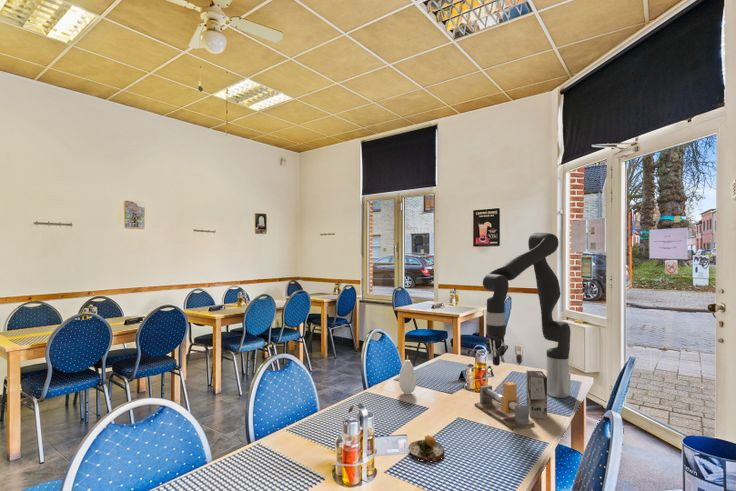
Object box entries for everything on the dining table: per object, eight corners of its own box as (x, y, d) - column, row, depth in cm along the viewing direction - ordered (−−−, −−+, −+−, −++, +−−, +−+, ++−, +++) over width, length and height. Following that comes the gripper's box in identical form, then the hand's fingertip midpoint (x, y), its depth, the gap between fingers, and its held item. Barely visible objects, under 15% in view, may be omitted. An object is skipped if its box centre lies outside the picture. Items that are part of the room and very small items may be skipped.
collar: (500, 411, 160) (501, 383, 160) (513, 409, 162) (513, 381, 162) (506, 414, 158) (506, 385, 158) (518, 412, 160) (518, 383, 160)
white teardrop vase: (416, 397, 183) (416, 357, 183) (399, 397, 183) (399, 357, 183) (415, 391, 191) (415, 352, 191) (398, 390, 191) (398, 352, 191)
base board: (474, 405, 174) (474, 403, 174) (494, 402, 177) (494, 400, 177) (512, 429, 151) (512, 426, 151) (534, 425, 154) (534, 422, 154)
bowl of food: (420, 441, 143) (420, 420, 143) (451, 452, 135) (451, 429, 135) (401, 455, 133) (401, 432, 133) (432, 467, 126) (432, 443, 126)
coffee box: (547, 418, 160) (547, 377, 160) (530, 417, 162) (530, 376, 162) (542, 409, 169) (542, 370, 169) (526, 408, 171) (526, 369, 171)
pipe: (479, 402, 174) (479, 386, 174) (489, 401, 176) (489, 384, 176) (517, 425, 152) (517, 407, 152) (528, 423, 154) (528, 405, 154)
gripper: (514, 325, 163) (514, 368, 163) (493, 319, 175) (493, 359, 175) (498, 326, 160) (498, 370, 160) (478, 320, 173) (478, 361, 173)
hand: (496, 364), depth 168 cm, fingers closed
